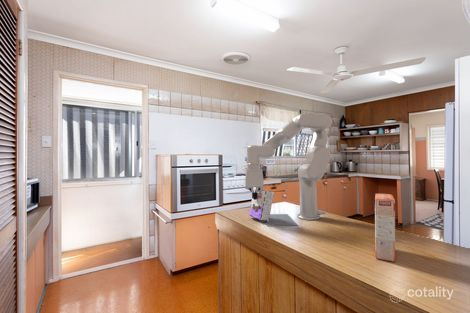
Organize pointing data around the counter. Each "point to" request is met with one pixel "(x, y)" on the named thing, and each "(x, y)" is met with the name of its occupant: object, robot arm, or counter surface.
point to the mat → (280, 220)
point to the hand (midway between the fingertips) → (254, 199)
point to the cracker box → (385, 227)
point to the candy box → (261, 205)
